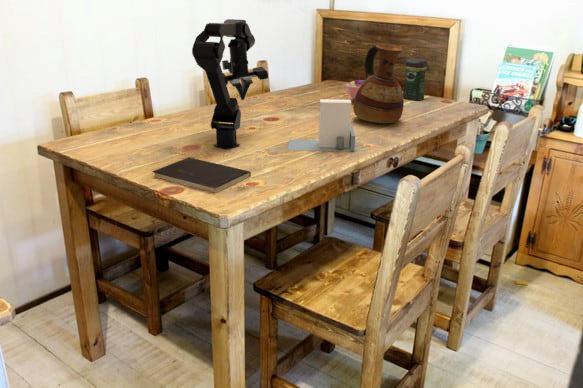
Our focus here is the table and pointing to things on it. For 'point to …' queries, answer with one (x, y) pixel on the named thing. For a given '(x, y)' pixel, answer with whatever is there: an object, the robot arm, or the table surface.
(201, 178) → the hardcover book
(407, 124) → the table surface
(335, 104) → the panel
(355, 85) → the cell model
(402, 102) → the ceramic pitcher
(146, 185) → the table surface
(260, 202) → the table surface
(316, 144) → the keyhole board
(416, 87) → the coffee jar
